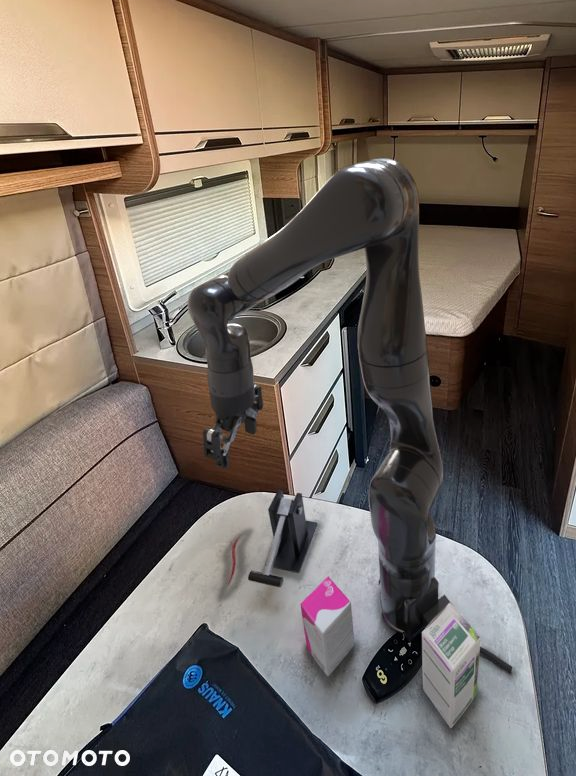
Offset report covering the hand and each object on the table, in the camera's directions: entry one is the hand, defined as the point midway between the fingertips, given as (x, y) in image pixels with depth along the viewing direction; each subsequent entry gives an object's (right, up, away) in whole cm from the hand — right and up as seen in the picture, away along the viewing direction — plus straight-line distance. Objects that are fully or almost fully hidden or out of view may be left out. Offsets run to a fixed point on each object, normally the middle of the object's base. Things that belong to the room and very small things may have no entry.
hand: (238, 448), depth 76 cm
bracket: (+10, -21, +4) cm, 24 cm away
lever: (+9, -16, -3) cm, 18 cm away
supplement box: (+19, -27, -12) cm, 36 cm away
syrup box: (+37, -29, -17) cm, 50 cm away
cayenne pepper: (-1, -23, +1) cm, 23 cm away
